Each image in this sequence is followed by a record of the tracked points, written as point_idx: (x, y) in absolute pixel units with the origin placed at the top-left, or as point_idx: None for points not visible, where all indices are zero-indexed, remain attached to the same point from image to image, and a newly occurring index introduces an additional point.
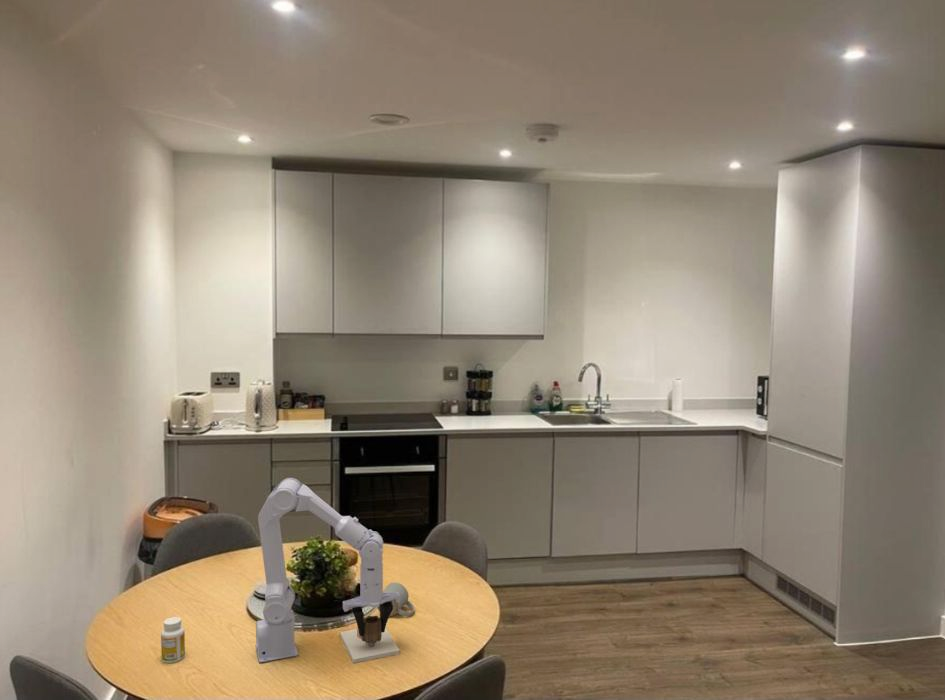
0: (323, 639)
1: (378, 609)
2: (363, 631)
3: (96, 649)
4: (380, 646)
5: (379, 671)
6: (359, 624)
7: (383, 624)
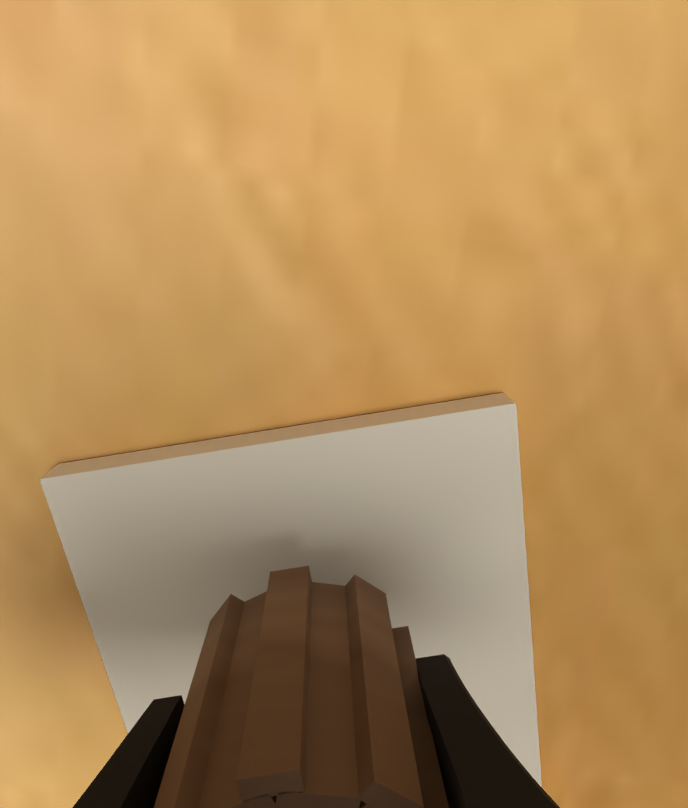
0: (662, 780)
1: None
2: (416, 717)
3: None
4: (229, 575)
5: (273, 182)
6: (531, 795)
7: (124, 787)
